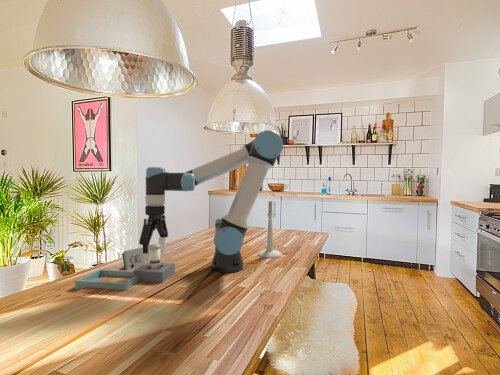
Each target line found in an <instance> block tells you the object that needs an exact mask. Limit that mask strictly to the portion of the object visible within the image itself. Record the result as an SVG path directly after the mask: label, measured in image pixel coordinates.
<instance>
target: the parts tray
mask: <svg viewBox="0 0 500 375" xmlns="http://www.w3.org/2000/svg"><path fill="white" fill-rule="evenodd" d="M107 276H108V277H109V276H110V277H111V276H112V277H125V278H126V277H127V278H130V279H128V280H127V281H125V282H115V281H103V280H102V279H104V278H106V277H107ZM101 280H102V281H101ZM138 282H139V281H138V276H135V277H134V270H123V269H121V270H120V269H106V268H105V269H104V268H103V269H102V268H100V269H97V270H95V271H93V272H91V273H89V274H87V275H85V276H83V277H80V278H78V279H75V281H74V284H75V286H74V287H75V290H83V289H84V288H92V289H94V288H95V289H108V290H120V291H121V290H123V291H125V290H128V289H129V288H131V286H133V285H135V284H136V283H138Z"/></svg>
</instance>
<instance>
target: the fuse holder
mask: <svg viewBox="0 0 500 375" xmlns="http://www.w3.org/2000/svg"><path fill="white" fill-rule="evenodd" d="M133 271H134V277H135V276H138V282H145V283H146V282H147V283H160V284H161V283H165V282H166V280H168V279H169V278H170V277H172V276H173V275H174V274H176V263H175V262H174V263H173V262H172V263H171V262H160V269H150V261H149V262H146V264H144V265H143V266H141V267H137V268H135V269H134V270H133Z"/></svg>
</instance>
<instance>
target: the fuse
mask: <svg viewBox="0 0 500 375" xmlns="http://www.w3.org/2000/svg"><path fill="white" fill-rule="evenodd" d="M149 262H150V269H160V263H161V253H160V244H159V243H153V244H150V261H149Z"/></svg>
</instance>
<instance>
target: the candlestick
mask: <svg viewBox="0 0 500 375" xmlns="http://www.w3.org/2000/svg"><path fill="white" fill-rule="evenodd" d="M267 211H268V213H266V214H267V218H268V223H267V235H266V249H263V250H260V251H259V252H258V254H257V255H258V256H259V257H261V258H264V259H278V258H280V257H282V253H281V252H280V251H279V250H275V249H274V242H273V241H274V240H273V219H272V218H273V216H274V213H273V201H271V200H270V201H268V210H267Z"/></svg>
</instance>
